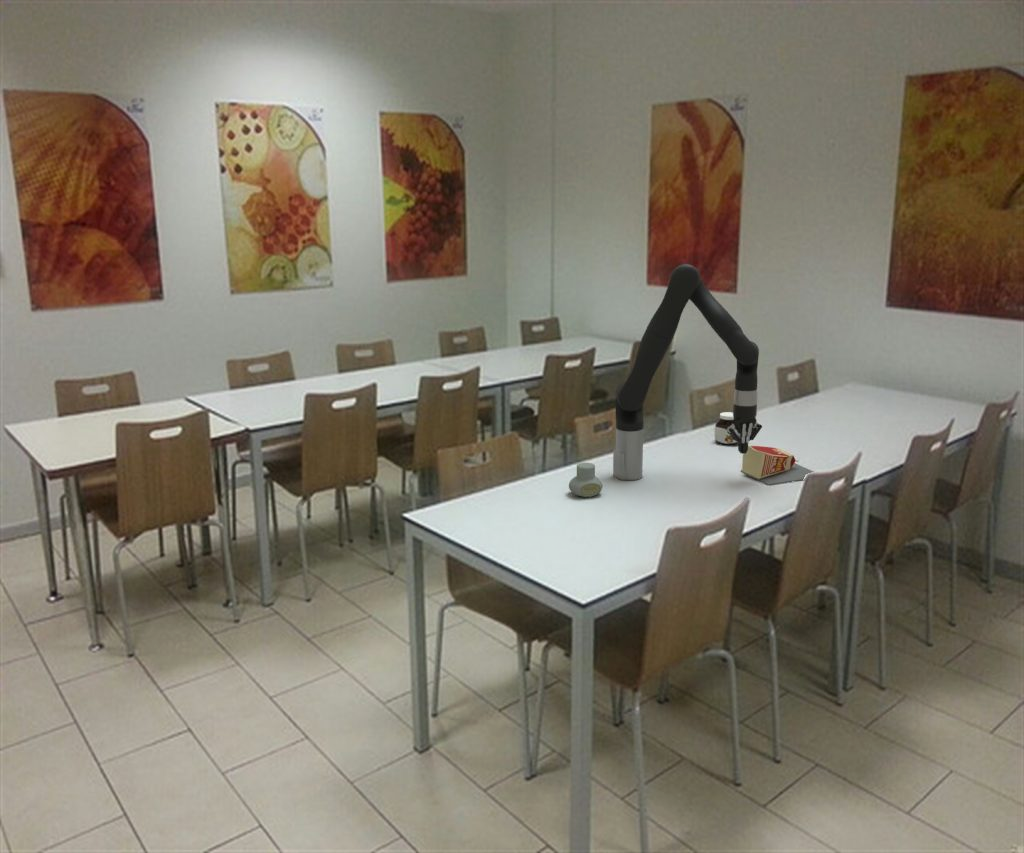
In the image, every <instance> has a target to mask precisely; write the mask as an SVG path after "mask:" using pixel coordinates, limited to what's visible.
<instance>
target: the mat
mask: <svg viewBox="0 0 1024 853" xmlns="http://www.w3.org/2000/svg"><path fill="white" fill-rule="evenodd" d="M740 472H741V473H743V474H744V475H747V476H749V477H750V478H753V479H755V480H757V481H758V482H761V483H763V484H764V483H765V485H766V486H768V485H769V486H772V485H773V486H774V484H775V485H781V484H780V483H782V484H788V483H787V482H789V483H793V482H792V481H796V482H802V481H804V480H803V479H804V477H805V475H806V474H808V473H811V472H815V471H814V470H812V469H809V468H807V467H805V466H802V465H800V464H798V463H796V462H795V463H794V464H793V466H792V467H791V469H790V470H787V471H783V472H780V473H776V474H773V475H770V476H767V477H764V478H761V479H758V478H756V477H753V476H751V475H749V474H747V473H745V472H743V471H742V469H740Z"/></svg>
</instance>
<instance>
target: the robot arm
mask: <svg viewBox="0 0 1024 853" xmlns="http://www.w3.org/2000/svg"><path fill="white" fill-rule="evenodd" d="M689 300H690V302H691V303H692V304H693V305H694V306H695V307H696V308H697V309H698V311H699V312H700V313H701V315H702V316H703V318H704V319H705V320H706V322H707V323H708V325H709V326H710V327H711V328H712V330H713V331H714V332H715V333H716V334H717V336H718V337H719V338H720V339H721V340H722V342H723V343H725V345H726V346H727V348H728V349H729V351H730V352H731V353H732V355H733V357H734V358H735V360H736V372H735V379H734V393H733V403H732V404H733V407H732V412H733V417H734V419H733V421H732V425H731V426H730V427H726V430H727V431H728V433H729V434H730V436H731V437H732V438H733V440H735V441H737V442H738V444H737V445H738V447H737V450H738V453H740V454H742V455H743V454H744V453H747V451H748V446H749V442H750V441H754V440H755V438H756V437H757V435H758V434H759V432H760V431H761V429H762V428H763V425H762V424H760V423H758V422H757V418H756V417H757V415H758V410H757V409H758V366H759V354H760V349H759V347H758V345H757V344H756V342H754V341H751V340H750V339H749V338H748V337H747V336H746V334H744V332H743V330H742V327H741V326H740V325H739V323H738V322H737V321H736V320H735V319H734V318H733V316H732V315H731V314H730V312H728V311H727V310H726V308H724V306H723V305H722V304H721V303H720V302H719V301H718V300H717V299H716V298H715V297H714V296H713V294H712V293H711V291H710V290H709V289H708V288H707V286H706V284H705V283H704V281H703V280H702V277H701V276H700V272H699V270H698V269H697V268H696V267H695V266H694V265H692V264H689V263H682V264H680V265H678V266H676V267H675V268H674V269H673V271H671V275H670V277H669V283H668V285H667V288H666V291H665V294H664V297H663V299H662V300H661V303H660V304H659V306H658V308H657V310H656V311H655V312H654V314H653V316H651V317H652V318H650V320H649V322H648V324H647V326H646V328H645V331H644V333H643V335H642V338H641V340H640V342H639V344H638V349H637V353H636V356H635V360H634V363H633V367H632V369H631V371H630V374H629V375H628V376H627V379H625V380H624V381H623V380H622V381H621V382H620V384H618V386H617V387H616V391H615V448H613V452H612V455H613V457H612V458H613V459H612V460H613V462H612V464H613V465H612V466H613V468H612V476H614V477H615V478H617V479H618V480H619V481H635V480H636V481H637V480H639V479H642V477H643V472H644V470H643V467H644V466H643V465H644V464H643V459H644V402H645V400H646V398H647V393H648V391H649V389H650V387H651V383H652V381H653V378H654V376H655V373H656V372H657V370H658V368H659V366H661V364H662V362H663V359H664V358H665V356H666V354H667V352H668V350H669V348H670V346H671V343H672V341H673V339H674V337H675V335H676V332H677V330H678V326H679V323H680V321H681V317H682V315H683V314H682V313H683V312H684V309H685V308H686V306H687V304H688V302H689ZM735 429H736V430H737V434H736V433H735Z"/></svg>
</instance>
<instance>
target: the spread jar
mask: <svg viewBox="0 0 1024 853" xmlns="http://www.w3.org/2000/svg"><path fill="white" fill-rule="evenodd" d="M733 419H734V417H733V411H732V412H731V411H728V412H727V411H724V412H720V413H719V419H718V420H717V421H716V422H715V425H714V440H715V441H716V443H717V444H719V445H720V446H725V447H734V446H736V445H738V442H737V441H735V440H733V438H732V437H731V436H730V434H729V433H728V431H727V430H726V427H730V426H731V425H732V421H733ZM735 433H736V434H737V430H736V429H735Z"/></svg>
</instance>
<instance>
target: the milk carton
mask: <svg viewBox="0 0 1024 853" xmlns="http://www.w3.org/2000/svg"><path fill="white" fill-rule="evenodd" d="M796 462H797V463H799V460H797V459H796V458H795V456H794V455H793V454H792V453H790V452H788V451H786V450H783V449H781V448H778V447H771V446H763V445H762V446H761V445H748V451H747V453H744V454H742V468H741V470H742V471H743V472H745V473H747V474H749V475H751V476H753V477H756V478H758V479H761V478H764V477H767V476H770V475H773V474H776V473H780V472H783V471H787V470H790V469H791V467H792V466H793V464H794V463H796Z"/></svg>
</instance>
